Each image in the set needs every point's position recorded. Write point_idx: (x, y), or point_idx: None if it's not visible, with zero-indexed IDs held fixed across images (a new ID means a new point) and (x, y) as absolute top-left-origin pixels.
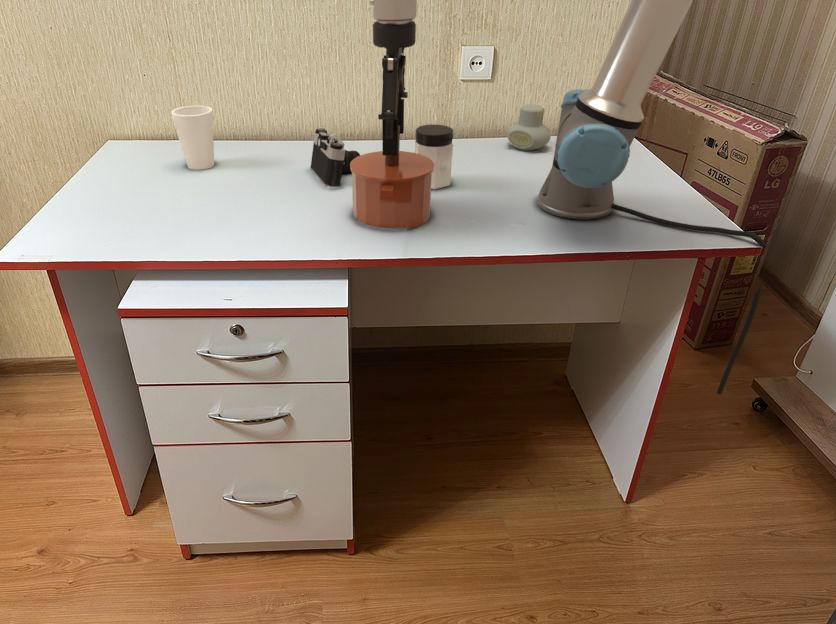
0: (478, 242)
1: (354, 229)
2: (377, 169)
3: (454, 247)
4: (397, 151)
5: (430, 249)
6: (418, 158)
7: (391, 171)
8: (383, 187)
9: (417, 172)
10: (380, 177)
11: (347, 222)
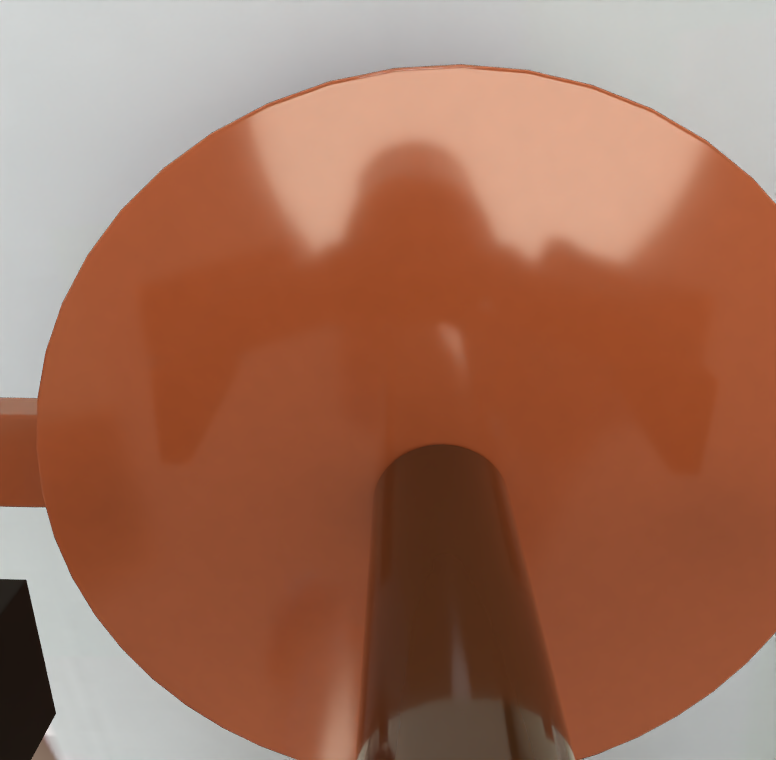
0: (160, 705)
1: (175, 124)
2: (271, 389)
3: (84, 624)
4: (32, 742)
5: (33, 535)
6: (598, 686)
7: (241, 510)
8: (19, 435)
9: (252, 689)
10: (59, 434)
11: (275, 58)
